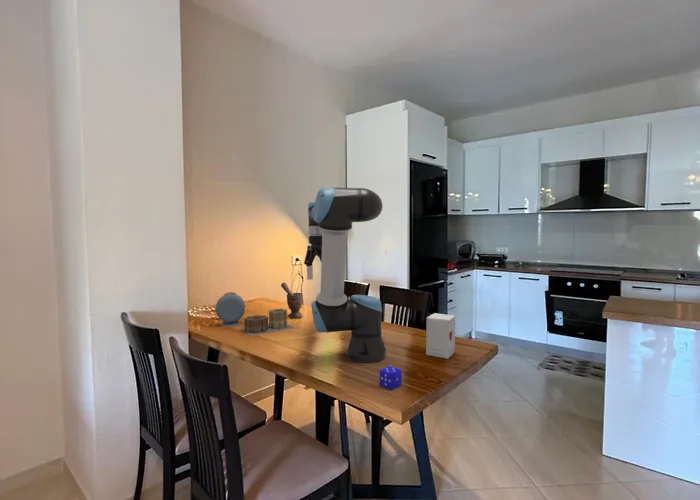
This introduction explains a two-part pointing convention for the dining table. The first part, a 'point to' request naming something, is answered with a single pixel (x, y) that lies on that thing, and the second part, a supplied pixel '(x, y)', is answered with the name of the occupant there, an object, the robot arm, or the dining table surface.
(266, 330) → the gear board
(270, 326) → the maple gear
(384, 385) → the die
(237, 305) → the alarm clock
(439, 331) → the supplement box
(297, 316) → the mortar and pestle
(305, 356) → the dining table surface
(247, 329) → the walnut gear
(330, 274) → the robot arm
